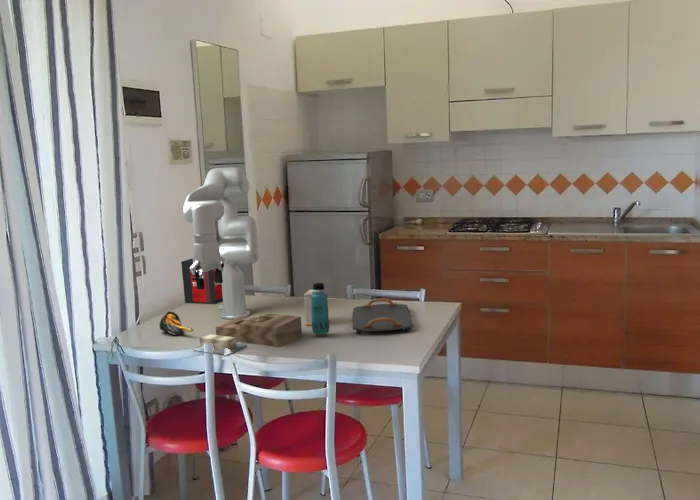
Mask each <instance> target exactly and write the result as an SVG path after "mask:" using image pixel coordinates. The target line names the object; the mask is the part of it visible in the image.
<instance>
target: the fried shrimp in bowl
mask: <svg viewBox="0 0 700 500" xmlns="http://www.w3.org/2000/svg"><path fill="white" fill-rule="evenodd" d="M159 330H160V331H162V332H165V333H168V334H171V335H172V336H176V335H182V334H184V331H185V332H188V333H191V332H194V328H193V327H187V326H183V325H182V323H181V319H180V316H179V315H178V314H177V313H175V311H168V312H166V313H165V314H164V315H163V316H162V317H161V319H160V322H159Z"/></svg>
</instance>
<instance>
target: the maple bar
mask: <svg viewBox="0 0 700 500" xmlns="http://www.w3.org/2000/svg"><path fill="white" fill-rule="evenodd" d="M204 343H212V344H213V347H214V349H220V350H224V349H225V348H228V349H230V350H231V349H233V348H235V347H237V344H238V343H237V342H236V337H228V336H220V335H216V334H209V333H206V334H205V335H201V336H200V337H199V346H200V347H201V346H203V345H204Z"/></svg>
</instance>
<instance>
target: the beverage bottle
mask: <svg viewBox="0 0 700 500" xmlns="http://www.w3.org/2000/svg"><path fill="white" fill-rule="evenodd" d="M312 290H320V291H318V292H314V293H312V295H311V312H312V313H311V314H312V315H311V317H312V326H311V331H312V333H313V334H315V335H324V334H325V335H326V334H328V333H329V332H330V319H329V317H330V316H329V306H328V305H329V304H328V303H329V302H328V294H327V293H326V292H325V291H322V290H325V285H324V283H322V282H315V283H313V284H312Z"/></svg>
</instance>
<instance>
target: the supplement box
mask: <svg viewBox="0 0 700 500" xmlns="http://www.w3.org/2000/svg"><path fill="white" fill-rule="evenodd" d="M318 291H321V290H313V289H308V290H307V291H306V292H305V293H304V294H303V298H304V299H303V302H304V315H305V317H304V318H305V326H306V327H312V317H311V315H312V314H311V313H312V312H311V295H312V293H314V292H318Z"/></svg>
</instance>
